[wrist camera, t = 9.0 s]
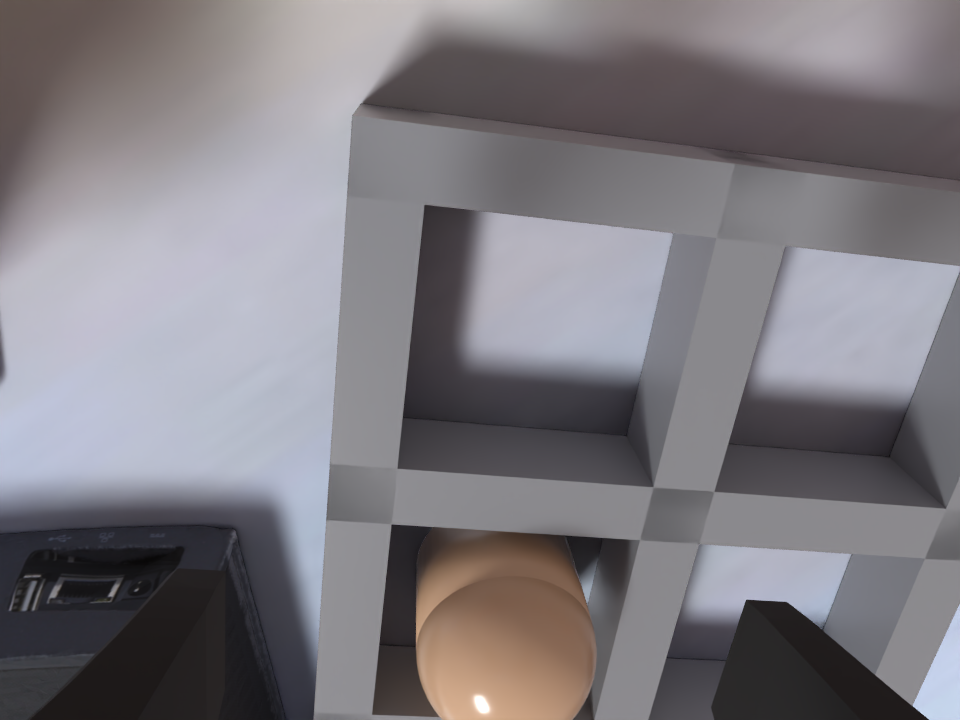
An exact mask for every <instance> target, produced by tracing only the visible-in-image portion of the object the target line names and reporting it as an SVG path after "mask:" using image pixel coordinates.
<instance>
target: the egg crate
mask: <svg viewBox="0 0 960 720" xmlns="http://www.w3.org/2000/svg"><path fill="white" fill-rule="evenodd" d="M424 205H432V206H441V207H449V208H458V209H467V210H476V211H484V212H493V213H502V214H511V215H519V216H528V217H537V218H546V219H554V220H563V221H572V222H580V223H589V224H598V225H607V226H615V227H624V228H633V229H642V230H650V231H659V232H668V233H674V234H673V238H672V242H671V247H670V251H669V255H668V260H667V264H666V268H665V273H664V277H663V281H662V286H661V290H660V294H659V299H658V303H657V307H656V312H655V316H654V320H653V325H652V329H651V333H650V338H649V342H648V346H647V351H646V355H645V359H644V364H643V368H642V372H641V377H640V381H639V385H638V390H637V394H636V398H635V403H634V407H633V411H632V416H631V420H630V424H629V429H628V433H627V436H622V435H609V434H597V433H585V432H572V431H560V430H548V429H535V428H523V427H511V426H498V425H486V424H473V423H461V422H449V421H436V420H424V419H412V418H403V409H404V399H405V390H406V380H407V370H408V360H409V351H410V341H411V331H412V322H413V312H414V302H415V293H416V283H417V273H418V263H419V254H420V244H421V234H422V225H423V215H424ZM785 246H790V247H799V248H808V249H816V250H825V251H834V252H843V253H851V254H860V255H869V256H878V257H886V258H895V259H904V260H913V261H921V262H930V263H939V264H948V265H956V266H960V181H959V180H952V179H944V178H936V177H928V176H921V175H913V174H905V173H897V172H889V171H882V170H874V169H866V168H858V167H851V166H843V165H835V164H827V163H820V162H812V161H804V160H796V159H789V158H781V157H773V156H765V155H758V154H750V153H742V152H734V151H727V150H719V149H711V148H703V147H696V146H688V145H680V144H672V143H665V142H657V141H649V140H641V139H634V138H626V137H618V136H610V135H603V134H595V133H587V132H579V131H572V130H564V129H556V128H548V127H540V126H533V125H525V124H517V123H509V122H502V121H494V120H486V119H478V118H471V117H463V116H455V115H447V114H440V113H432V112H424V111H416V110H409V109H401V108H393V107H385V106H378V105H370V104H362V103H361V104H360V106H359V107H358V108H357V110H356V111H355V112H354V114H353V115H352V128H351V144H350V159H349V175H348V190H347V206H346V222H345V237H344V253H343V268H342V284H341V299H340V315H339V331H338V346H337V362H336V377H335V393H334V408H333V424H332V440H331V455H330V471H329V486H328V502H327V518H326V533H325V549H324V564H323V580H322V595H321V611H320V627H319V642H318V658H317V673H316V689H315V705H314V720H442V719H441V718H440V717H439V716H438V714H437V713H436V711H435V710H434V709H433V707H432V706H431V705H430V703H429V701H428V699H427V697H426V694H425V692H424V690H423V688H422V685H421V681H420V678H419V674H418V669H417V660H416V647H407V646H385V645H379V642H380V632H381V622H382V613H383V603H384V593H385V583H386V574H387V564H388V554H389V545H390V535H391V525H392V524H395V525H411V526H426V527H442V528H457V529H473V530H489V531H504V532H520V533H535V534H551V535H566V536H582V537H598V538H603V541H602V546H601V550H600V554H599V559H598V563H597V567H596V572H595V576H594V580H593V585H592V589H591V593H590V598H589V602H588V606H587V607H588V610H589V613H590V617H591V620H592V624H593V627H594V632H595V638H596V644H597V664H596V670H595V676H594V681H593V683H592V686H591V689H590V692H589V695H588V697H587V699H586V701H585V703H584V704H583V706H582V708H581V709H580V711H579V712H578V714H577V715H576V716H575V717H574V719H573V720H714V717H713V713H712V709H711V706H712V703H713V699H714V696H715V693H716V690H717V687H718V684H719V681H720V678H721V675H722V672H723V669H724V666H725V663H726V661H715V660H693V659H671V658H666V657H667V654H668V650H669V647H670V643H671V640H672V636H673V633H674V630H675V626H676V623H677V619H678V616H679V612H680V609H681V605H682V602H683V598H684V595H685V592H686V588H687V585H688V581H689V578H690V574H691V571H692V567H693V564H694V560H695V557H696V554H697V550H698V547H699V544H706V545H722V546H738V547H753V548H769V549H784V550H800V551H815V552H831V553H847V554H852V556H851V558H850V561H849V564H848V566H847V569H846V572H845V574H844V577H843V579H842V582H841V585H840V587H839V590H838V592H837V595H836V598H835V600H834V603H833V605H832V608H831V611H830V613H829V616H828V618H827V621H826V624H825V626H824V629H823V631H824V632H825V633H826V634H827V635H829V636H830V637H831V638H832V639H833V640H835V641H836V642H837V643H838V644H839V645H841V646H842V647H843V648H844V649H845V650H846V651H848V652H849V653H850V654H851V655H852V656H853V657H855V658H856V659H857V660H858V661H859V662H861V663H862V664H863V665H864V666H865V667H866V668H868V669H869V670H870V671H871V672H872V673H873V674H875V675H876V676H877V677H878V678H879V679H881V680H882V681H883V682H884V683H885V684H886V685H888V686H889V687H890V688H891V689H892V690H894V691H895V692H896V693H897V694H898V695H900V696H901V697H902V698H903V699H904V700H906V701H907V702H908V703H909V704H910V705H912V706H913V703H914V701H915V699H916V697H917V695H918V693H919V690H920V688H921V686H922V684H923V682H924V680H925V677H926V675H927V673H928V671H929V669H930V667H931V664H932V662H933V660H934V658H935V656H936V654H937V651H938V649H939V647H940V645H941V643H942V641H943V638H944V636H945V634H946V632H947V630H948V628H949V625H950V623H951V621H952V619H953V617H954V615H955V612H956V610H957V608H958V606H959V604H960V274H959V277H958V279H957V282H956V285H955V287H954V290H953V292H952V295H951V298H950V300H949V303H948V306H947V308H946V311H945V313H944V316H943V319H942V321H941V324H940V326H939V329H938V332H937V334H936V337H935V339H934V342H933V345H932V347H931V350H930V352H929V355H928V358H927V360H926V363H925V366H924V368H923V371H922V373H921V376H920V379H919V381H918V384H917V386H916V389H915V392H914V394H913V397H912V399H911V402H910V405H909V407H908V410H907V412H906V415H905V418H904V420H903V423H902V425H901V428H900V431H899V433H898V436H897V439H896V441H895V444H894V446H893V449H892V452H891V454H890V457H881V456H869V455H857V454H844V453H832V452H820V451H807V450H795V449H782V448H770V447H758V446H745V445H733V444H728V443H729V439H730V436H731V433H732V429H733V426H734V422H735V419H736V415H737V412H738V408H739V405H740V401H741V398H742V394H743V391H744V388H745V384H746V381H747V377H748V374H749V370H750V367H751V363H752V360H753V356H754V353H755V350H756V346H757V343H758V339H759V336H760V332H761V329H762V325H763V322H764V318H765V315H766V311H767V308H768V305H769V301H770V298H771V294H772V291H773V287H774V284H775V280H776V277H777V273H778V270H779V267H780V263H781V260H782V256H783V253H784V249H785Z"/></svg>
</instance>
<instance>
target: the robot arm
mask: <svg viewBox="0 0 960 720" xmlns="http://www.w3.org/2000/svg"><path fill="white" fill-rule="evenodd" d="M225 584H226V571H218V570H200V569H182V568H177V569H176V570H175V571H173V572H172V573H171V574H169V575H168V576H167V578H166V579H165V580H164V581H163V582H162V583H161V584H160V585H159V587H158V588H157V589H156V590H155V591H154V592H153V593H152V594H151V595H150V597H149V598H148V599H147V600H146V601H145V602H144V603H143V604H142V605H141V607H140V608H139V609H138V610H137V611H136V612H135V613H134V614H133V615H132V616H131V617H130V618H129V620H128V621H127V622H126V623H125V624H124V625H123V626H122V627H121V628H120V629H119V630H118V631H117V632H116V633H115V634H114V635H113V636H112V637H111V639H110V640H109V641H108V642H107V643H106V644H105V645H104V646H103V647H102V648H101V649H100V650H99V651H98V652H97V653H96V654H95V655H94V656H93V657H92V658H91V659H90V660H89V661H88V662H87V663H86V664H85V665H84V666H83V667H82V668H81V669H80V670H79V671H78V672H77V673H76V674H75V675H74V676H73V677H72V678H71V679H70V680H69V681H68V682H67V683H66V684H65V685H64V686H63V687H62V688H61V689H60V690H59V691H58V692H56V693H55V694H54V695H53V696H52V697H51V698H50V699H49V700H48V701H47V702H46V703H45V704H44V705H43V706H41V707H40V708H39V709H38V710H37V711H36V712H35V713H34V714H33V715H32V716H30V717H29V718H28V719H27V720H218V718H219V714H220V709H221V705H222V700H223V696H224V691H225ZM711 709H712V713H713V717H714V720H929V719H927V718H926V717H925V716H924V715H922V714H921V713H920V712H919V711H918V710H916V709H915V708H914V707H913V706H912V705H910V704H909V703H908V702H907V701H906V700H904V699H903V698H902V697H901V696H900V695H898V694H897V693H896V692H895V691H894V690H892V689H891V688H890V687H889V686H888V685H886V684H885V683H884V682H883V681H882V680H881V679H879V678H878V677H877V676H876V675H875V674H873V673H872V672H871V671H870V670H869V669H868V668H866V667H865V666H864V665H863V664H862V663H861V662H859V661H858V660H857V659H856V658H855V657H853V656H852V655H851V654H850V653H849V652H848V651H846V650H845V649H844V648H843V647H842V646H841V645H839V644H838V643H837V642H836V641H835V640H833V639H832V638H831V637H830V636H829V635H827V634H826V633H825V632H824V631H823V630H821V629H820V628H819V627H818V626H817V625H815V624H814V623H813V622H812V621H811V620H809V619H808V618H807V617H806V616H804V615H803V614H802V613H801V612H799V611H798V610H797V609H795V608H794V607H793V606H791V605H790V604H789V603H787V602H776V601H758V600H746V602H745V605H744V608H743V611H742V614H741V617H740V620H739V623H738V626H737V629H736V633H735V636H734V639H733V642H732V645H731V648H730V651H729V654H728V657H727V660H726V663H725V666H724V669H723V672H722V675H721V678H720V681H719V684H718V687H717V690H716V693H715V696H714V699H713V703H712V706H711Z"/></svg>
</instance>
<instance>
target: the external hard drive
mask: <svg viewBox="0 0 960 720" xmlns="http://www.w3.org/2000/svg"><path fill="white" fill-rule="evenodd" d="M177 568H182V569H200V570H218V571H226V584H225V691H224V696H223V700H222V705H221V709H220V714H219V718H218V720H285V715H284V711H283V707H282V703H281V700H280V696H279V692H278V690H277V685H276V681H275V678H274V674H273V670H272V666H271V663H270V659H269V655H268V652H267V648H266V644H265V640H264V636H263V633H262V629H261V625H260V622H259V618H258V615H257V611H256V607H255V604H254V600H253V596H252V593H251V589H250V585H249V581H248V577H247V574H246V570H245V566H244V561H243V559H242V556H241V552H240V547H239V544H238V538H237V536H236V531H235V530H234V529H218V528H216V527H208V526H192V527H190V526H174V527H169V526H165V527H161V526H159V527H152V526H151V527H126V528H102V529H82V530H57V531H44V532H25V533H15V534H0V720H27V719H28V718H29V717H30V716H32V715H33V714H34V713H35V712H36V711H37V710H38V709H39V708H40V707H41V706H43V705H44V704H45V703H46V702H47V701H48V700H49V699H50V698H51V697H52V696H53V695H54V694H55V693H56V692H58V691H59V690H60V689H61V688H62V687H63V686H64V685H65V684H66V683H67V682H68V681H69V680H70V679H71V678H72V677H73V676H74V675H75V674H76V673H77V672H78V671H79V670H80V669H81V668H82V667H83V666H84V665H85V664H86V663H87V662H88V661H89V660H90V659H91V658H92V657H93V656H94V655H95V654H96V653H97V652H98V651H99V650H100V649H101V648H102V647H103V646H104V645H105V644H106V643H107V642H108V641H109V640H110V639H111V637H112V636H113V635H114V634H115V633H116V632H117V631H118V630H119V629H120V628H121V627H122V626H123V625H124V624H125V623H126V622H127V621H128V620H129V618H130V617H131V616H132V615H133V614H134V613H135V612H136V611H137V610H138V609H139V608H140V607H141V605H142V604H143V603H144V602H145V601H146V600H147V599H148V598H149V597H150V595H151V594H152V593H153V592H154V591H155V590H156V589H157V588H158V587H159V585H160V584H161V583H162V582H163V581H164V580H165V579H166V578H167V576H168V575H169V574H171V573H172V572H173V571H175V570H176V569H177Z"/></svg>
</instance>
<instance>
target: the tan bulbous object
mask: <svg viewBox="0 0 960 720" xmlns="http://www.w3.org/2000/svg"><path fill="white" fill-rule="evenodd" d="M416 660H417V669H418V674H419V678H420V681H421V685H422V688H423V690H424V692H425V694H426V697H427V699H428V701H429V703H430V705H431V706H432V707H433V709H434V710H435V711H436V713H437V714H438V716H439V717H440V718H441V719H442V720H573V719H574V717H575V716H576V715H577V714H578V712H579V711H580V709H581V708H582V706H583V704H584V703H585V701H586V699H587V697H588V695H589V692H590V689H591V686H592V683H593V681H594V676H595V670H596V664H597V644H596V638H595V632H594V627H593V624H592V620H591V617H590V613H589V610H588V607H587V603H586V600H585V596H584V593H583V590H582V586H581V583H580V579H579V576H578V573H577V569H576V566H575V562H574V559H573V556H572V552H571V549H570V545H569V543H568V540H567V537H566V536H565V535H551V534H535V533H520V532H504V531H489V530H473V529H457V528H442V527H433V528H432V529H431V530H430V531H429V533H428V534H427V535H426V537H425V539H424V541H423V542H422V544H421V547H420V549H419V552H418V556H417V562H416Z"/></svg>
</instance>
